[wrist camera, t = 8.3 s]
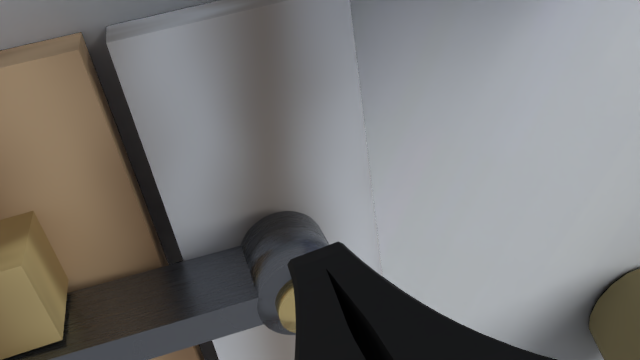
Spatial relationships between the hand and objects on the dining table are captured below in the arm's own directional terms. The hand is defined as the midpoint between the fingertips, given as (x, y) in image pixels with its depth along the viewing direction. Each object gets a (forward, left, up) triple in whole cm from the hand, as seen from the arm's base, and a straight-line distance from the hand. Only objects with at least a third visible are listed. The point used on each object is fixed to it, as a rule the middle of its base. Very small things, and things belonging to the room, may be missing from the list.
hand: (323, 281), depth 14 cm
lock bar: (+5, +4, -7) cm, 9 cm away
